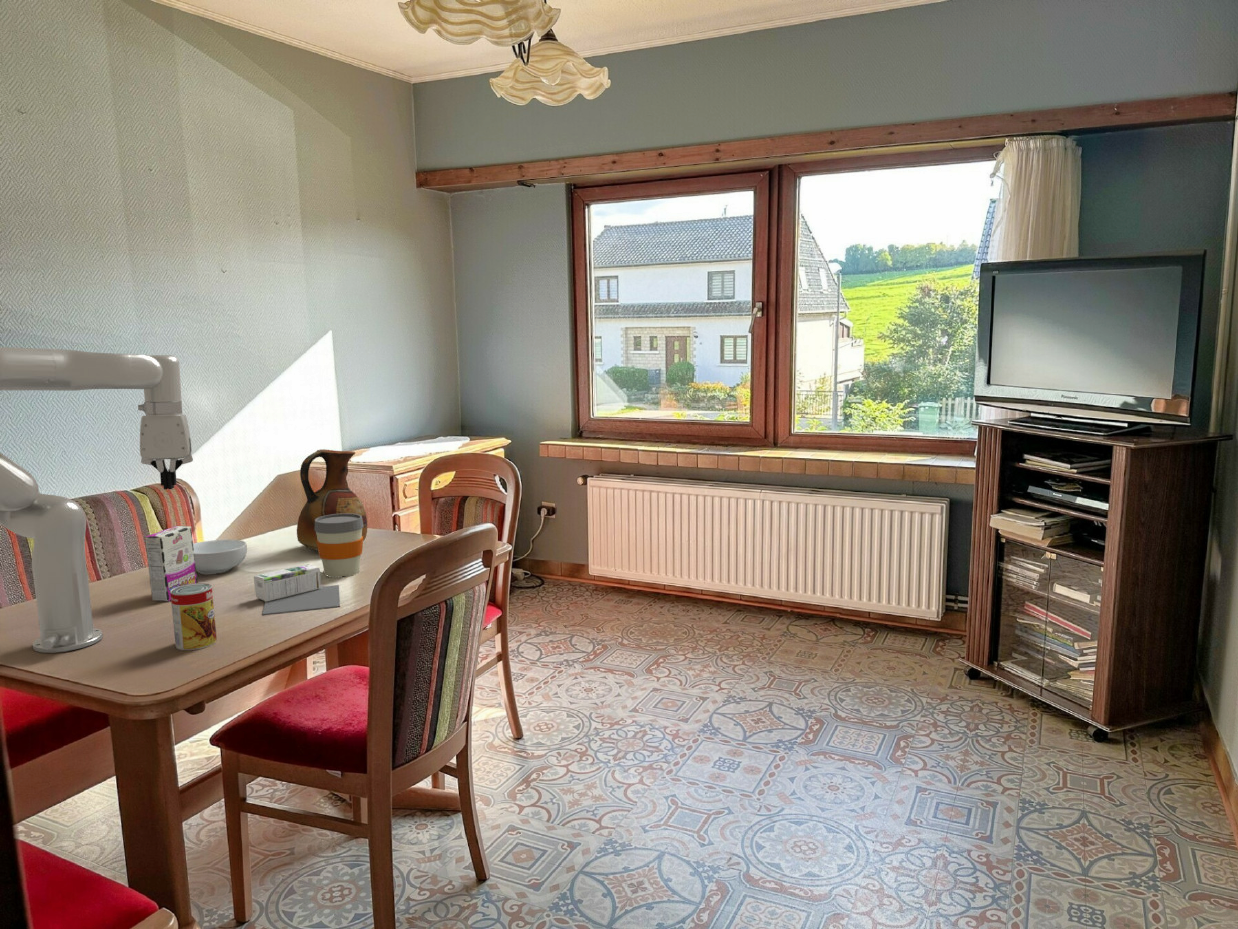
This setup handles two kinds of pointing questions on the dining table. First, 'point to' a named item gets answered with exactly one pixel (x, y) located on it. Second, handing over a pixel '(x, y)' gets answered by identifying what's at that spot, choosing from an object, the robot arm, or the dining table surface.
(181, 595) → the canned food
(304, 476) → the ceramic pitcher
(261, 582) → the syrup box
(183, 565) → the candy bar box
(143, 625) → the dining table surface
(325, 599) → the mat
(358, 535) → the reusable coffee cup
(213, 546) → the cereal bowl
